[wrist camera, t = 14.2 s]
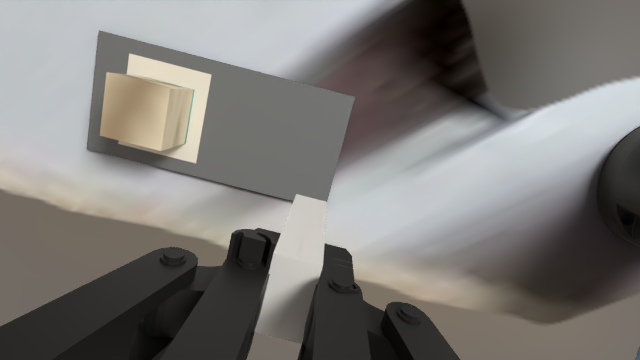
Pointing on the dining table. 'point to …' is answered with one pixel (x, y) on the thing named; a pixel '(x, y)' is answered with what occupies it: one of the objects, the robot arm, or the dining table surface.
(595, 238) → the dining table surface
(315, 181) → the charcoal mat
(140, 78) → the birch block
